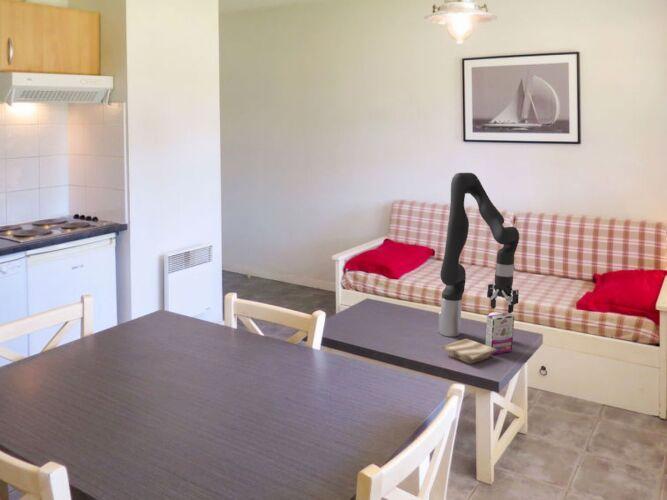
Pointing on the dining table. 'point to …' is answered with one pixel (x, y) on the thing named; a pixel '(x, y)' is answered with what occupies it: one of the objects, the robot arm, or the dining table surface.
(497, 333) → the candy bar box
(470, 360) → the stand
